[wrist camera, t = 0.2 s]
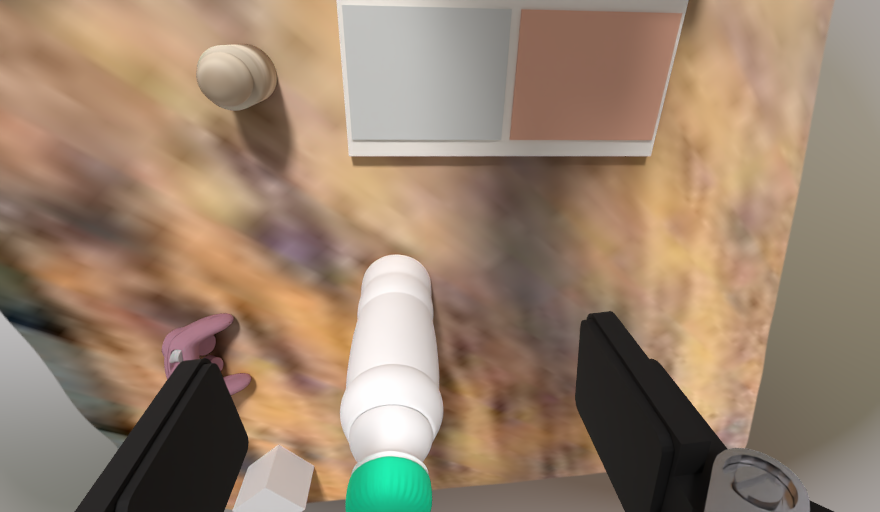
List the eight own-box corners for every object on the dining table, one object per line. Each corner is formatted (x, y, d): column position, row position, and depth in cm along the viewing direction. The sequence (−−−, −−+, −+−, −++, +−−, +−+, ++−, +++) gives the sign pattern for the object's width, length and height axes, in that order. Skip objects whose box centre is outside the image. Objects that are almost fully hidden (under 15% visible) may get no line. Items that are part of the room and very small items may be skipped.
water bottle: (407, 319, 47) (408, 570, 25) (350, 291, 45) (297, 537, 23) (443, 272, 45) (480, 503, 23) (385, 239, 43) (362, 460, 20)
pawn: (215, 43, 34) (172, 45, 28) (272, 44, 34) (242, 46, 28) (227, 102, 36) (189, 115, 30) (280, 102, 36) (254, 116, 30)
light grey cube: (278, 443, 55) (265, 487, 49) (314, 465, 57) (305, 509, 52) (248, 466, 56) (232, 511, 51) (284, 486, 59) (272, 531, 53)
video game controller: (204, 302, 46) (142, 341, 41) (236, 311, 45) (177, 352, 39) (227, 372, 51) (174, 415, 45) (256, 382, 49) (206, 428, 44)
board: (337, -18, 33) (334, -19, 31) (683, -8, 35) (692, -9, 33) (350, 153, 38) (348, 156, 37) (645, 153, 40) (652, 156, 39)
